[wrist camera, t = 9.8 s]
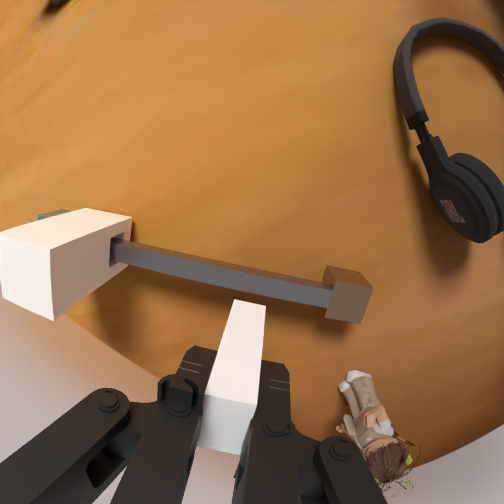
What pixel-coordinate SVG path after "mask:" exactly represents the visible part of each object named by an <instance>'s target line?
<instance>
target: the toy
mask: <svg viewBox="0 0 504 504" xmlns="http://www.w3.org/2000/svg"><path fill="white" fill-rule="evenodd" d="M338 387H339V389H340V391H341V392H343V395H344V396H345V397H346V399H347V402H348V403H346V405H347V406H349V408H350V410H351V413H352V415H353V416H350V415H347V414H345V415H344V422H345V424H341V426H336V430H337V431H339V432H340V433H346V434H347V435H348V436H349V437H351V438H352V439H353V440H354V441H356V443H357V445H358V446H359V448H360V449H361V450H363V457H364V459H365V461H366V463H367V465H368V467H369V469H370V471H371V473H372V475H373V477H374V478H375V480H376V482H377V484H378V485H379V484H380V483H383V484H384V483H390V482H393V481H394V480H396V479H397V480H398V479H399V478H400V477H401V476H403V475H402V474H404V472H405V471H406V470H407V466H408V465H409V464H410V463H411V462H412V458H411V456H410V454H409V446H408V448H407V449H406V450H405V447H404V445H403V444H400V442H398V441H397V440H396V438H397V439H399V440H401V441H402V442H404V443H406V444H408V445H410V446H411V447H412V446H415V445H414V444H413V443H411V442H409V441H408V440H406V439H404V438H403V437H401V436H400V435H398V434H397V433H396V432H395V431H394V426H393V425H391V422H390V420H389V418H388V416H387V414H386V412H385V408H384V407H383V406H382V405H381V403H380V402H379V400H378V398H377V396H376V393H375V388H374V382H373V379H372V378H371V375H370V374H367V373H363V372H360V371H357V370H353V371H349V372H348V374H347V376H346V380H344V381H343V382H342V383H340V384H339V385H338ZM390 425H391V426H390ZM392 436H393V437H395V438H392ZM402 445H403V446H402ZM420 449H421V447H420ZM419 453H420V452H419ZM417 458H419V456H418V457H417ZM417 460H418V459H417ZM416 462H417V461H416ZM416 462H415V464H416ZM415 464H414V465H415ZM414 465H413V467H414ZM413 467H412V468H413ZM410 470H411V469H410ZM405 475H406V474H405ZM411 481H412V479H411V480H410V481H408V482H407V483H409V484H410V482H411ZM398 483H399V482H398ZM381 485H382V484H381ZM401 486H402V485H401ZM383 487H384V485H383ZM383 487H382V488H383ZM389 488H390V487H389ZM405 489H406V488H405ZM381 491H382V490H381ZM382 492H383V491H382ZM396 494H397V493H396ZM385 497H386V496H385ZM385 497H384V498H385ZM392 497H394V496H392ZM388 499H390V498H388Z"/></svg>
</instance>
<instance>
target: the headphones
mask: <svg viewBox="0 0 504 504" xmlns="http://www.w3.org/2000/svg"><path fill="white" fill-rule="evenodd" d="M436 34H438V35H445V36H452V37H456V38H458V39H461V40H463V41H466V42H468V43H471V44H473V45H474V46H476V47H477V48H479V49H480V50H481V51H483V52H484V53H485V54H486V55H487V56H488V57H489V58H490V59H491V60H492V61H493V62H494V63H495V64H496V65H497V66H498V68H499V69H500V70H501V72H502V73H503V74H504V47H503V46H502V45H501V44H500V43H499V42H497V41H496V40H495V39H494V38H492V37H491V36H490V35H488V34H487V33H486V32H484V31H483V30H481V29H479V28H476V27H474V26H472V25H469V24H467V23H464V22H462V21H458V20H453V19H447V18H435V19H429V20H427V21H424V22H421V23H418V24H416V25H413V26H412V27H411V29H410V30H409V32H408V33H407V34H406V36H405V37H404V39H403V40H402V42H401V43H400V45H399V46H398V48H397V51H396V55H395V59H394V73H395V81H396V87H397V93H398V97H399V101H400V105H401V108H402V111H403V113H404V116H405V119H406V122H407V124H408V127H409V129H410V130H412V129H415V130H416V133H417V135H418V137H419V139H420V142H421V144H419V145H417V146H416V147H417V149H418V151H419V153H420V156H421V158H422V160H423V162H424V165H425V167H426V170H427V173H428V177H429V185H430V189H431V194H432V197H433V199H434V202H435V204H436V206H437V208H438V209H439V211H440V212H441V214H442V215H443V217H444V218H445V219H446V221H447V222H448V223H449V224H450V225H451V226H452V227H453V228H454V229H455V230H456V231H457V232H459V233H460V234H462V235H463V236H464V237H466V238H467V239H469V240H471V241H473V242H476V243H484V242H486V241H488V240H489V239H491V238H492V237H493V236H494V235H497V234H499V233H500V232H502V231H504V186H503V185H502V183H501V181H500V180H499V178H498V177H497V176H496V175H495V173H494V172H493V171H492V170H491V169H490V168H489V167H488V166H487V165H486V164H484V163H483V162H482V161H480V160H479V159H477V158H475V157H473V156H471V155H468V154H465V153H456V154H454V155H452V156H451V157H448V155H447V153H446V150H445V148H444V146H443V144H442V142H441V140H440V138H439V136H436V137H433V136H432V135H431V134H429V132H428V130H427V128H426V125H425V123H424V122H426V121H429V118H428V116H427V114H426V111H425V109H424V106H423V104H422V101H421V99H420V96H419V93H418V89H417V86H416V82H415V78H414V73H413V69H412V60H411V48H412V43H413V42H415V41H417V40H419V39H421V38H424V37H426V36H430V35H436Z"/></svg>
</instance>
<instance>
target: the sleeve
mask: <svg viewBox="0 0 504 504" xmlns="http://www.w3.org/2000/svg"><path fill="white" fill-rule="evenodd" d="M131 226H132V217H129V216H124V215H119V214H114V213H109V212H104V211H99V210H93V209H88V208H83V209H79V210H75V211H72V212H68V213H64V214H60V215H56V216H53V217H49V218H45V219H42V220H38V221H35V222H31V223H28V224H25V225H21V226H18V227H15V228H11V229H8V230H5V231H2V232H0V279H1V288H2V295H3V298H5V299H7V300H9V301H11V302H13V303H15V304H17V305H19V306H21V307H23V308H25V309H27V310H30V311H32V312H34V313H36V314H38V315H41V316H43V317H45V318H47V319H50V320H52V321H55V320H56V319H58V318H59V317H60V316H62V315H63V314H64V313H65V312H67V311H68V310H69V309H71V308H72V307H73V306H74V305H76V304H77V303H78V302H80V301H81V300H82V299H84V298H85V297H86V296H88V295H89V294H90V293H92V292H93V291H94V290H96V289H97V288H99V287H100V286H101V285H103V284H104V283H105V282H107V281H108V280H109V279H111V278H112V277H114V276H115V275H116V274H118V273H119V272H121V271H122V270H123V269H125V268H126V267H128V264H124V263H120V262H117V261H113V260H109V254H110V239H111V238H112V237H115V238H119V239H123V240H128V241H130V236H131Z"/></svg>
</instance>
